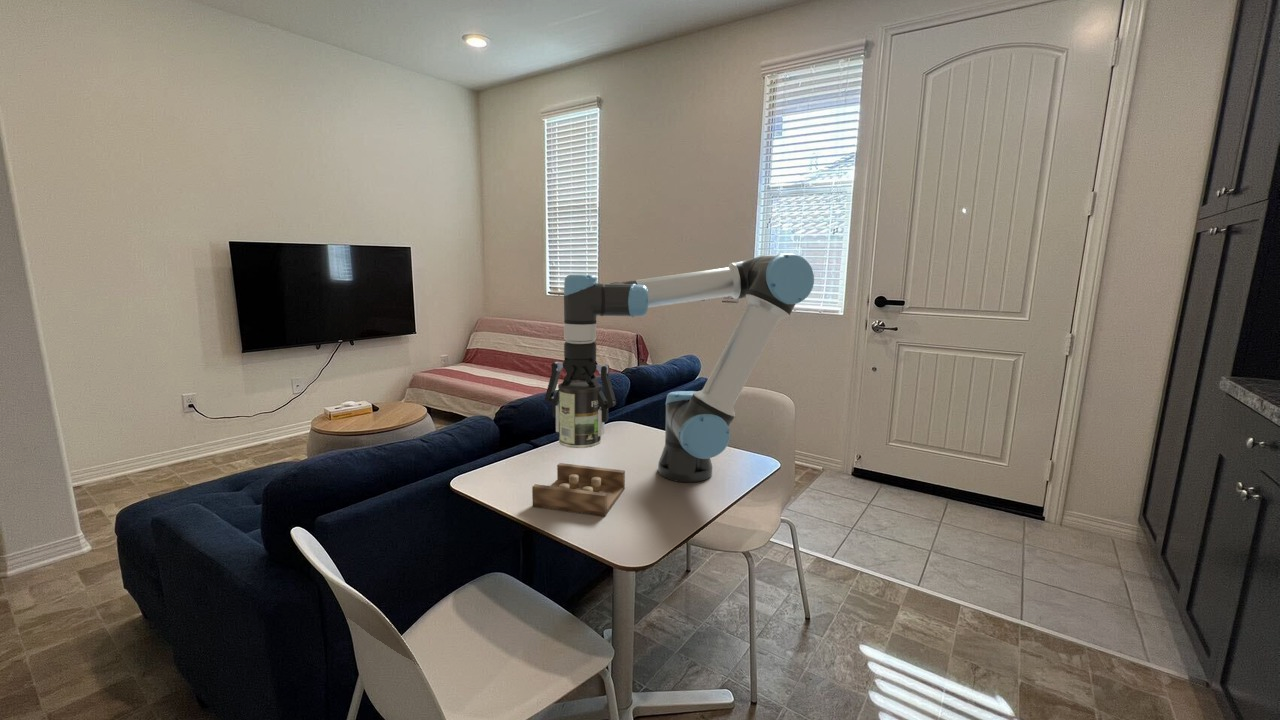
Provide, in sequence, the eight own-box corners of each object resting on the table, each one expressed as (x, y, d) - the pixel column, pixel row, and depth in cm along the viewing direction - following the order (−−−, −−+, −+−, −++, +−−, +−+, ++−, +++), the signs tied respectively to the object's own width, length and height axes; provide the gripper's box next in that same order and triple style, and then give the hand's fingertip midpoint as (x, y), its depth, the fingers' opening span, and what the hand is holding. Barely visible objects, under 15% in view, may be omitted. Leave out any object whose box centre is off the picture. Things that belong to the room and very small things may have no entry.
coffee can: (606, 436, 130) (606, 381, 127) (594, 450, 120) (594, 390, 117) (566, 433, 132) (566, 379, 129) (552, 446, 122) (551, 387, 119)
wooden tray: (624, 489, 133) (624, 470, 133) (604, 516, 118) (605, 496, 117) (559, 480, 138) (559, 462, 137) (532, 506, 123) (532, 486, 122)
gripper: (630, 341, 122) (629, 432, 126) (542, 336, 128) (543, 423, 132) (621, 346, 115) (620, 442, 119) (528, 340, 121) (530, 432, 124)
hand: (580, 432), depth 125 cm, fingers closed on coffee can, 10 cm apart
